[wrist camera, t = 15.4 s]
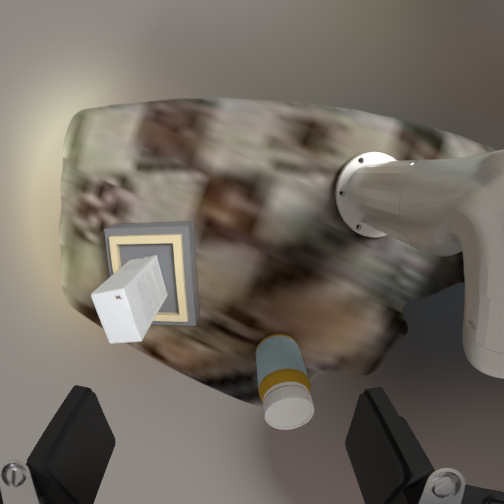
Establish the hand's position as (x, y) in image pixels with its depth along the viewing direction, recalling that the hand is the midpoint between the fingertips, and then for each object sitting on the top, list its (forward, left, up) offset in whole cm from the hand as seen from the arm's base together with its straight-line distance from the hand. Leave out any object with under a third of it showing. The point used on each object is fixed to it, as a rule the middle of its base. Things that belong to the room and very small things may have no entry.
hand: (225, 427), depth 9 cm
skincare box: (+12, +5, -30) cm, 32 cm away
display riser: (+12, +5, -33) cm, 36 cm away
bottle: (-6, +19, -34) cm, 39 cm away
